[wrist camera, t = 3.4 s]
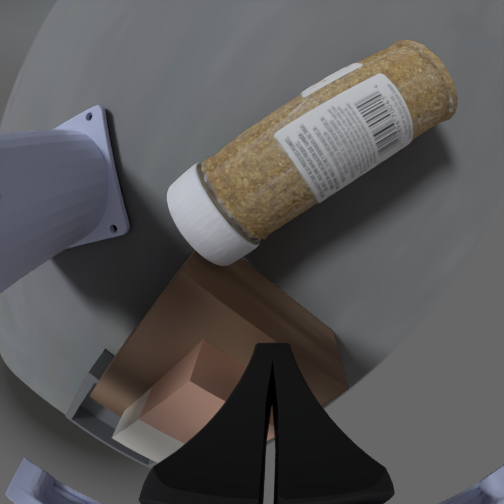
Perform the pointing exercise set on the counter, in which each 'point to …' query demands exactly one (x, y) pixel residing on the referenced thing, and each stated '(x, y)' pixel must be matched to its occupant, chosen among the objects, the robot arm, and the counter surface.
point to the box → (100, 412)
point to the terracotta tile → (193, 393)
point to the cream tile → (144, 434)
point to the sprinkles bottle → (310, 149)
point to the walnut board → (219, 331)
